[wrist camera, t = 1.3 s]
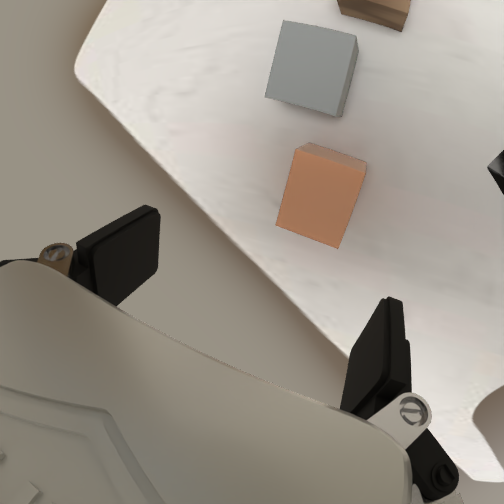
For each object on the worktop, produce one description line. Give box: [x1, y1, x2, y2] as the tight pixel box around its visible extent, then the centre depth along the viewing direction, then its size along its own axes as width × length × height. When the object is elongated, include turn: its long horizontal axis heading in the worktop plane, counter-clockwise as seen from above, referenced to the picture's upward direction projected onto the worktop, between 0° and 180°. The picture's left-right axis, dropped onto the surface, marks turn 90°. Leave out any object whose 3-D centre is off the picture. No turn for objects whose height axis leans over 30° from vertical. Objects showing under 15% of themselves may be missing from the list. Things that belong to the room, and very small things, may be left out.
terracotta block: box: [276, 143, 366, 249], centre depth 23 cm, size 5×6×5 cm
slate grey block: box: [265, 20, 359, 117], centre depth 19 cm, size 5×6×5 cm
